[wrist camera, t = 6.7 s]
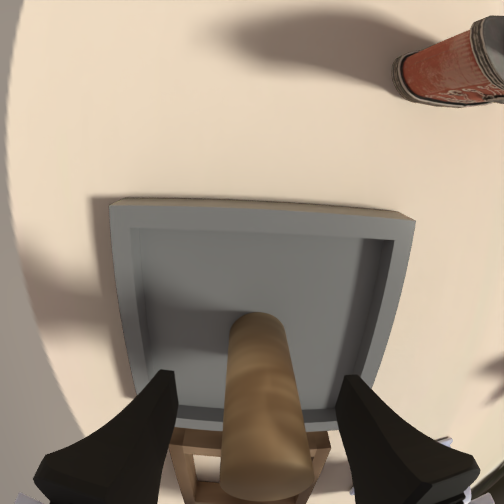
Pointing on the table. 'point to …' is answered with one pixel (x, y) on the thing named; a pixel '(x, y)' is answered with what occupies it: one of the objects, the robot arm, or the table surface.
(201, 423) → the tray
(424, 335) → the table surface
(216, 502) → the holder
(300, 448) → the pin
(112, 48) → the table surface
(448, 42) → the lighter
